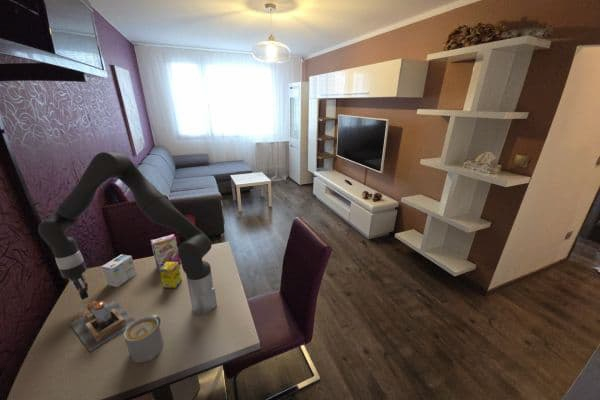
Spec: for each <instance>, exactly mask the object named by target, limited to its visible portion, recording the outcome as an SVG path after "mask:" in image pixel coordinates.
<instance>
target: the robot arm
mask: <svg viewBox="0 0 600 400" xmlns="http://www.w3.org/2000/svg"><path fill="white" fill-rule="evenodd" d="M111 178H112V179H113V178H114V179H115V178H117V179H118V180H119V181H121V182H122V183H123V184H124V185H125V186H127V188H129V191H131V193H132V195H133V198H134V200H135V203H136V205H137V207H138V208H139V210H140V211H141V212H142V213H143V214H144V215H145V216H146V217H147V218H148V219H149V220H150V221H152V223H154V224H156V225H160V226H162V227H165V228H167V229H168V228H169V229H170V230H173V231H176V232H177V233H178V234H180V235H181V236H182V237H183V238H184V239H185V240H184V241H182V242H181V244H180V245H179V246H178V251H179V257H180V262H181V267H182V270H183V272H184V273H185V275H186V276H185V277H186V281H187V287H188V291H189V297H190V301H191V308H192V311H193V313H194V314H196V315H202V316H207V315H208V314H209V313H210V312H211V311H213V310H215V308H217V307H218V304H217V303H218V301H217V296H216V289H215V288H214V284H213V276H212V270H211V265H210V263H209V262H208V261H206V260H203V258H204V257H205V256H206V255H207V254H208V253H209V251H211V249H212V241H211V239H210V238H209V237H208V236H207V234H205V232H203V231H202V230H201V229H200V228H198V227H197V226H196V225H195V224H194V223H192V222H191V221H190V220H189V219H188V218H187V217H186V216H185V215H184V214H183V213H182V212H180V211H179V210H178V209H177V208H176V207H175V206H174V205H173V204H172V202H171V201H170V200H168V199H167V198H166V196H165V195H164V194H162V193H161V192H160V191H159V189H157V187H155V185H153V184H152V183H151V182H150V181H149V180H148V179H147V178H146V176H145V175H143V173H142V172H141V171H140V169H139V168H138V167H137V166H136V164H135V163H134V162H133V161H132V160H131V158H130V157H128V156H127V155H126V154H124V153H121V152H114V151H102V152H99V153H97V154H96V155H94V157H93V158H92V159H91V160H90V162H89V163H88V165H87V168H86V169H85V171H84V172H83V174H82V175H81V178H80V179H79V180H78V182H77V184H76V185H75V187H73V189H72V190H71V192H70V193H68V195H67V196H66V197H65V198H64V199H63V201H61V203H60V204H59V205H58V207H57V210H56V211H55V212H54V213H53V214H52V215H51V216H50V217H48V218H46V219H44V220H43V221H41V222H40V223H39V225H38V227H37V228H38V229H37V230H38V234H39V236H40V238H41V239H42V240H43V241H44V242H45V243H46V245H48V247H50V248H51V250H52V253H53V255H54V258H55V263H56V265H57V268H58V270H59V272H60V275H61V277H62V278H63V279H69V281H70V282H71V284H72V287H74V289H75V290H76V291H77V293H78V295H79V298H80V299H81V300H82V301H83V300H86V299H87V298H89V295H88V291H89V290H88V289H89V288H88V285H89V283H87V282H86V277H85V275H83V274H84V273H85V272H86V271H87V269H88V268H87V266H86V263H85V260H84V258H83V255H82V252H81V251H80V249H79V246H78V244H77V241H76V239H75V238H74V237H71V236H66V235H65V233H66V232H67V231H69V230H70V229H71V228H72V227H73V226H74V225H75V223H76V222H77V220H78V219H79V217H80V216H82V215H83V213H85V212H86V210H87V209H88V208H90V206H91V205H92V203H93V202H94V200H95V196H96V192H97V190H98V189H99V187H100V186H101V185H102V184H104V183H105V182H106V181H107V180H108V179H111Z"/></svg>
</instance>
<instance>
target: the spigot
mask: <svg viewBox="0 0 600 400" xmlns="http://www.w3.org/2000/svg"><path fill="white" fill-rule="evenodd" d="M96 302H97V303H95V304H94V308H93V313H94V315H95V318H96V321H97V323H98V326H99V328H100V331H101V330H103V329H104V328H106V327H108V326H109V325H111V324H113V323H114V321H113V318H112V316H111V313H110V310H109V307H108V304H109V303H107V302H105V301H104V300H100V301H96Z"/></svg>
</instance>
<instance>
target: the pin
mask: <svg viewBox="0 0 600 400" xmlns="http://www.w3.org/2000/svg"><path fill="white" fill-rule="evenodd" d="M97 302H98V301H96V300H94V301H93V302H91V303H88V304H87V305H85V308H86V310H87V311H90V312H91V313H92V314H93V316H94V318H95V315H94V313H93V308H94V304H95V303H97ZM95 319H96V318H95Z"/></svg>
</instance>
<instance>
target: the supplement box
mask: <svg viewBox="0 0 600 400" xmlns="http://www.w3.org/2000/svg"><path fill="white" fill-rule="evenodd" d="M159 273H160V276H161V277H160V278H161V281H162V286H163V289H174V290H175V289H177V288H178V286H179V284H181V282H182V275H181V270H180V264H178V262H166V263H165V264H164V265H163V266H162V267H161V268H160V271H159Z"/></svg>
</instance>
